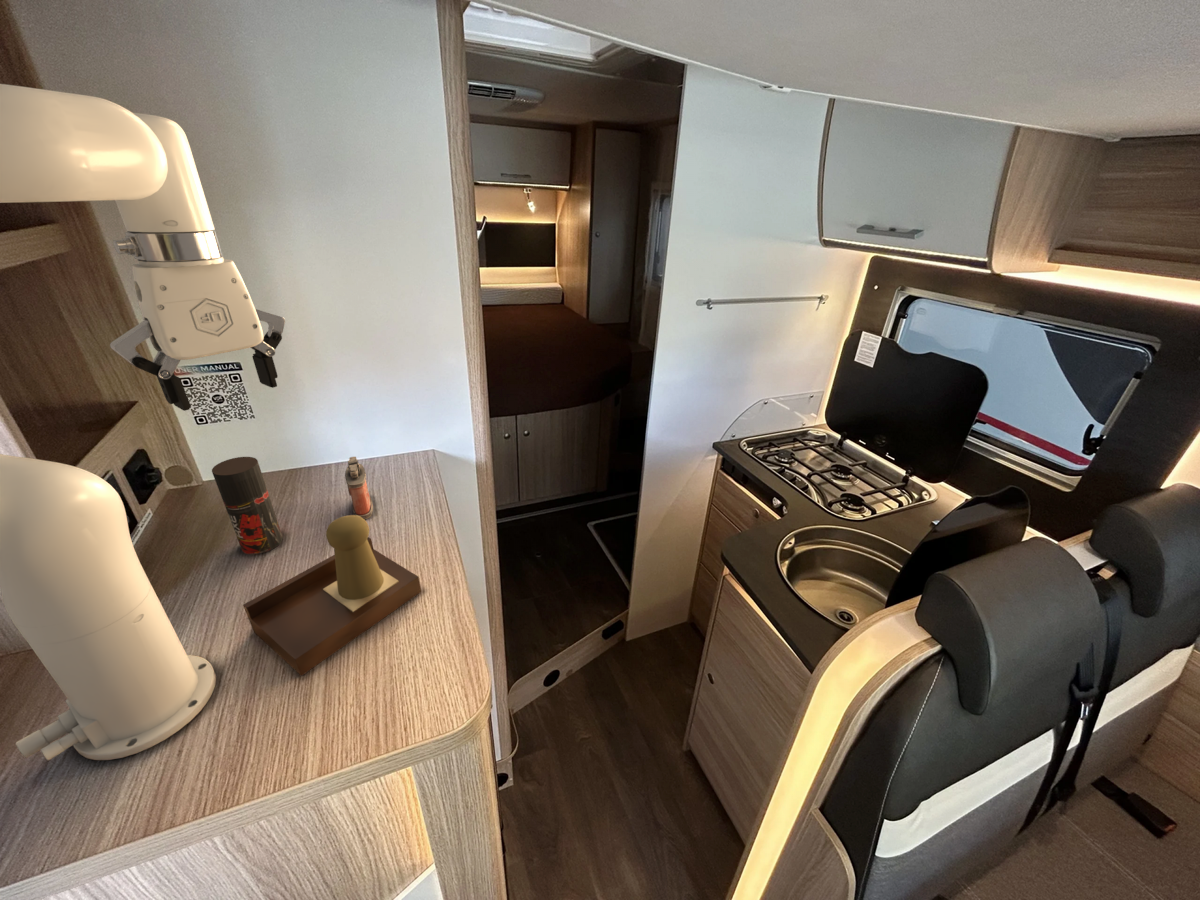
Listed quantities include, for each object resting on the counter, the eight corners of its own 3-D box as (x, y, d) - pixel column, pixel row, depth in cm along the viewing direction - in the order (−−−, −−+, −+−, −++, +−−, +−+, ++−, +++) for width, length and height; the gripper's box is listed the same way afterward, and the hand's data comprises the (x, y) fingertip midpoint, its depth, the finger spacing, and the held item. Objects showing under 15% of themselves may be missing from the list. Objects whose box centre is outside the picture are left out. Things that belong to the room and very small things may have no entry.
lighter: (352, 499, 96) (341, 453, 92) (371, 495, 98) (361, 450, 93) (353, 521, 90) (342, 473, 85) (374, 517, 91) (363, 470, 87)
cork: (367, 603, 68) (351, 538, 63) (328, 595, 69) (309, 531, 64) (392, 573, 73) (379, 512, 68) (355, 567, 74) (340, 506, 69)
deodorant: (290, 533, 86) (266, 458, 79) (266, 555, 81) (238, 476, 74) (258, 531, 87) (231, 455, 80) (232, 552, 81) (201, 473, 75)
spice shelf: (301, 676, 61) (290, 647, 59) (253, 632, 67) (242, 604, 65) (421, 591, 75) (416, 565, 72) (373, 561, 81) (367, 536, 78)
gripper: (84, 258, 46) (155, 426, 54) (278, 246, 59) (313, 383, 67) (60, 251, 50) (130, 409, 58) (248, 242, 63) (284, 372, 70)
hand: (228, 395), depth 62 cm, fingers open, 9 cm apart
